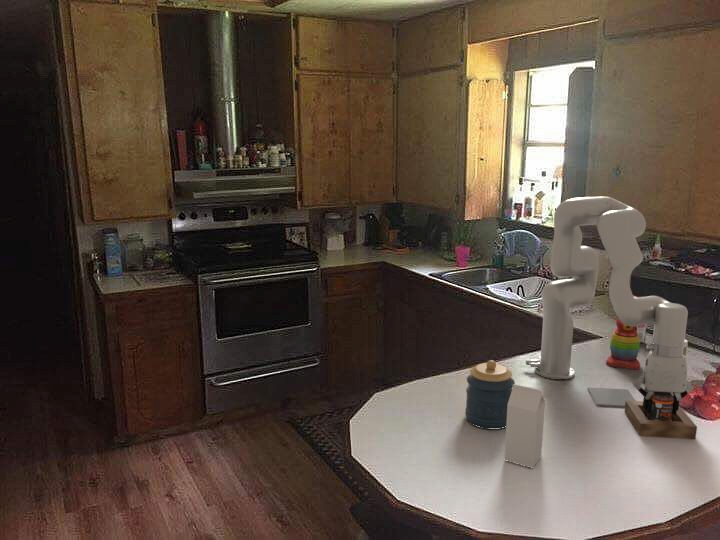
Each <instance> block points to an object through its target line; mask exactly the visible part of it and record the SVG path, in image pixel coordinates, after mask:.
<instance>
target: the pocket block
mask: <svg viewBox="0 0 720 540" xmlns="http://www.w3.org/2000/svg"><path fill="white" fill-rule="evenodd" d="M624 413H625V415H626V417H627V418H628V420H629V421H630V423H631V424H632V427H633V428H634V430H635V431H636V433H637V434H638V436H640V437H642V436H643V437H653V438H654V437H656V438H657V437H658V438H670V439H671V438H672V439H673V438H674V439H685V440H687V439H688V440H689V439H690V440H696V438H697V437H696V436H697V430H698V427H697V425H696V424H695V422H694V421H693V420H692V419H691V418H690V417H689V416H688V414H687V413H686V412H685V411H684V409H683V408H682V407H681V406H680V405H679V409H678V410H677V413H676V415H674V414H673V413H672V417H671V421H660V420H647V414H648V413H647V412H646V410H645V409H644V408H643V401H637V400H636V401H626V402H625V407H624Z"/></svg>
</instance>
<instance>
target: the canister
mask: <svg viewBox="0 0 720 540" xmlns="http://www.w3.org/2000/svg"><path fill="white" fill-rule="evenodd" d="M469 372H470V374H469V375H468V376H467V377H466V382H467V383H468V384H467V387H466V389H465V390H466V405H465V412H464V413H465V419H466V418H467V419H466V421H467V420H468V421H469V422H470V423H472V424H474V425H477V426H480V427H483V428H502V427H505V426H506V423H507V404H508V401H509V398H510V395H511V392H512V389H513V384H516V383H515V380H514V379H513V373H512V371H511V370H510V369H508V368H506V367H505V366H504V365H502V364H498V363H497V362H495V360H492V359H489V360H488V361H487V362H482V363H479V364H476V365H474V366H473V367H471V369H470V370H469ZM468 421H467V422H468ZM469 422H468V423H469ZM470 423H469V424H470ZM472 424H471V425H472ZM474 425H473V426H474Z"/></svg>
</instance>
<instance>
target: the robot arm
mask: <svg viewBox="0 0 720 540" xmlns="http://www.w3.org/2000/svg"><path fill="white" fill-rule="evenodd" d="M594 225H595V226H596V230H597V232H598V235H599V237H600V239H601V242H602V244H603V247H604V251H605V253H606V254H607V257H608V259H609V262H610V264H611V265H610V266H611V273H610V276H609V280H608V296H609V299H610V302H611V306H612V307H613V311H614V312H615V314H616V317H617V316H618V318H619V320H620V321H621V322H622V323H623V324H625V325H627V326H630V327H634V326H640V325H645V324H647V325H652V324H653V333H652V334H653V335H652V340H651V343H649V344H646V345H645V346H646V347H645V348H646V350H649V351H648V354H647V356H646V359H645V362H644V367H643V371H642V375H641V376H639V377H637V379H635V380H634V381H633V382H632V386H633V387H634V388H635V389H636V390H637V391H638V392H639V393H640V394H641V395H642V396H643V399H642V400H643V401H642V402H643V408H644V409H645V410H646V412H647V413H650V412H651V404H652V400H651V398H650V397H651V395H652V394H653V392H670V393H671V394H672V396H673V397H674V401H673V402H674V403H673V410H672V413H673V414H674V415H676V413H677V410H678V409H679V406H680V402H681V401H682V399H683V398H684V397H686V396H687V395H688V394H689V393H691V392H693V390H695V387H694V386H693V385H692V384H691V382H689V380H688V363H687V361H688V360H687V356H685V355H683V349H684V341H685V340H686V332H687V325H688V318H689V317H688V315H689V311H688V309H687V307H686V306H685V305H683V304H680V303H675V302H674V303H673V302H670V301H668V300H667V299H665V298H663V297H661V296H658V295H649V296H638V297H639V298H634V297H633V296H634V295H633V292H632V289H631V285H630V279H631V278H630V277H631V275H632V272H633V271H634V269H635V268H636V267H638V266H639V265H640V264H641V263H642V262H643V260H644V256H643V254H642V251H641V248H640V246H639V244H638V241H637V239H636V238H638V237H640V236H642V235H643V234H644V232H645V231H646V227H647V222H646V219H645V216H644V215H643V213H641V212H640V211H639V209H636V208H635V207H633V206H630V205H628V204H626V203H624V202H622V201H619V200H617V199H616V198H613V197H611V196H584V197H573V198H570V199H566V200H564V201H562V202H561V203H560V204H559V205H558V206H557V207H556V209H555V211H554V213H553V226H554V229H553V240H552V247H551V254H550V255H551V256H550V270H551V271H550V272H551V273H552V274H553V276H555V277H557V278H565V279H558V280H553V281H550V282H548V283H547V284H545V286H544V287H543V288H542V290H541V303H542V317H543V318H542V329H541V331H542V333H541V346H540V347H541V348H540V355H539V356H538V358H535V359H531V358H525V365H526V366H529V365H530V367H531V368H534V372H535V373H536V374H537V375H538V374H539V376H540V375H541V376H540V377H542V376H543V378H545V377H546V379H549V378H551V379H550V380H555V379H565V380H570V379H572V378H573V377H574V376H575V369H573V368H572V367H571V360H572V349H573V338H574V337H573V334H574V320H573V317H572V314H571V313H570V309H575V308H580V307H586V306H588V305H590V304H591V303H592V302H593V300H594V298H595V295H596V291H597V283H598V276H599V270H600V269H599V268H600V260H599V259H600V258H599V256H598V253H597V252H596V250H595V249H594V248H592V247H591V246H589V245H588V246H587V245H582V242H583V233H582V229H581V226H594ZM641 385H644V386H645V387H644V388H643V387H642V386H641Z"/></svg>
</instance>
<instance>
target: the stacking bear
mask: <svg viewBox="0 0 720 540" xmlns="http://www.w3.org/2000/svg"><path fill="white" fill-rule="evenodd" d="M615 323H616V329H615V330H614V331H613V333H612V335H611V338H610V341H609V349H610V354H611V355H609V356H608V357H607V358H606V360H605V361H606V362H605V363H606V365H607V366H608V367H613V368H618V367H619V368H625V369H629V370H635V371H637V370H640V369H641V363H640V360H639V359H638V356H639V352H640V345H641V343H640V342H639V336H638V333H637V331H636V330H635V329H636V328H637V326H634V327H630V326H627V325H625V324H623V323H622V322H621V321H620V320H619V318H618V316H617V315H616V322H615ZM617 327H618V329H617Z"/></svg>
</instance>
